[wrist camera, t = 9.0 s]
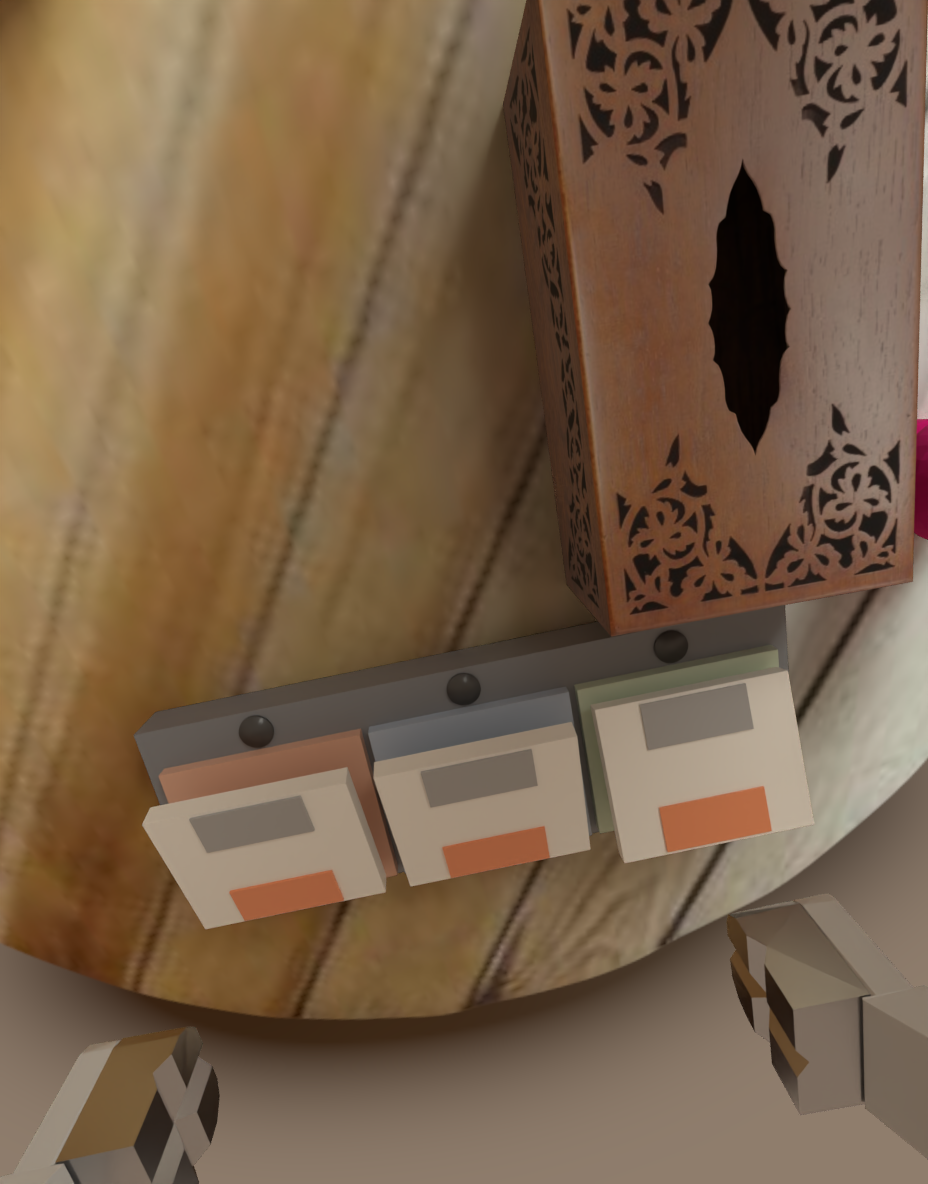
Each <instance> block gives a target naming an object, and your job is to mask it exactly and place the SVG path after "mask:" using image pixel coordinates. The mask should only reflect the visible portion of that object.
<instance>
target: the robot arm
mask: <svg viewBox="0 0 928 1184" xmlns="http://www.w3.org/2000/svg"><path fill="white" fill-rule="evenodd" d="M727 933H728V937H729V938H730V940H731V942H732V943H733V945H734V947H735V949H736V951H735V952H734V954H733V955H732V957H731V958H730V962H731V969H732V977H733V981H734V984H735V987H736V991H737V994H738V998H739V1000H740V1002H741V1005H742V1007H743V1009H744V1012H745V1014H746V1016H747V1018H748V1020H749V1022H750V1024H751V1026H752V1027H753V1029H754V1031H755V1033H757V1034H758V1035H760V1036H761V1037H763V1038H764V1039H766V1040H767V1041H769V1042H770V1047H771V1057H772V1065H773V1066H774V1068H775V1070H776V1072H777V1074H778V1076H779V1077H780V1079H781V1081H782V1083H783V1084H784V1087H785V1088H786V1090H787V1092H788V1094H789V1096H790V1098H791V1099H792V1101H793V1103H794V1105H795V1107H796V1108H797V1110H798V1112H799V1114H800V1115H804V1114H809V1113H816V1112H821V1111H827V1110H833V1109H839V1108H845V1107H851V1106H856V1105H862V1104H865V1109H867V1110H868V1111H869V1112H870V1113H872V1114H873V1115H874V1116H875V1117H876V1118H878V1119H879V1120H880V1121H881V1122H883V1123H884V1124H885V1125H886V1126H887V1127H889V1128H890V1129H891V1130H893V1131H894V1132H895V1133H896V1134H897V1135H899V1136H900V1137H901V1138H902V1139H904V1140H905V1141H906V1142H907V1143H908V1144H910V1145H911V1146H912V1147H913V1148H915V1149H916V1150H917V1151H918V1152H919V1153H921V1154H922V1155H923V1156H924V1157H926V1158H927V1159H928V987H926V986H918V987H913V986H912V985H911V984H910V983H909V982H908V981H907V980H906V978H904V976H903V975H902V974H901V973H900V972H899V970H898V969H897V968H896V967H895V966H894V965H893V964H892V962H891V961H890V960H889V959H888V958H887V957H886V956H885V954H884V953H883V952H882V951H881V950H880V949H879V948H878V946H877V945H876V944H875V943H874V942H873V941H872V940H871V938H870V937H869V936H868V935H867V934H866V933H865V932H864V930H863V929H862V928H861V927H860V926H859V925H858V924H857V923H856V921H855V920H854V919H853V918H852V917H851V916H850V914H849V913H848V912H847V911H846V910H845V909H844V908H843V907H842V905H841V904H840V903H839V902H838V901H837V900H836V899H835V898H834V897H833V896H831V895H829V894H827V893H826V894H821V895H816V896H812V897H807V898H802V899H798V900H794V901H787V902H783V903H778V904H773V905H769V906H764V907H760V908H755V909H751V910H746V911H742V912H737V913H732V914H728V918H727ZM202 1045H203V1042H202V1040H201V1038H200V1036H199V1034H198V1032H197V1030H196V1027H184V1028H178V1029H172V1030H167V1031H161V1032H156V1033H150V1034H144V1035H138V1036H133V1037H128V1038H123V1039H119V1040H114V1041H108V1042H103V1043H97V1044H92V1045H90V1046H89V1047H88V1048H87V1049H86V1050H85V1051H83V1052H82V1053H81V1054H80V1055H79V1057H78V1058H77V1060H76V1062H75V1064H74V1066H73V1067H72V1069H71V1071H70V1073H69V1074H68V1076H67V1078H66V1080H65V1082H64V1083H63V1085H62V1087H61V1089H60V1090H59V1092H58V1094H57V1096H56V1097H55V1099H54V1101H53V1103H52V1105H51V1107H50V1108H49V1110H48V1112H47V1114H46V1115H45V1117H44V1119H43V1121H42V1122H41V1124H40V1126H39V1128H38V1130H37V1132H36V1133H35V1135H34V1137H33V1138H32V1140H31V1142H30V1144H29V1146H28V1147H27V1149H26V1151H25V1153H24V1155H23V1156H22V1158H21V1160H20V1162H19V1163H18V1165H17V1167H16V1169H15V1171H14V1172H13V1174H8V1175H4V1176H1V1177H0V1184H199V1181H198V1177H197V1174H196V1171H195V1168H194V1165H195V1164H196V1162H197V1161H198V1160H199V1158H200V1157H201V1156H202V1154H203V1153H204V1152H205V1151H206V1150H207V1148H208V1147H209V1146H210V1144H211V1141H212V1138H213V1134H214V1131H215V1127H216V1124H217V1117H218V1107H219V1088H218V1081H217V1077H216V1074H215V1072H214V1069H213V1066H212V1065H210V1064H209V1063H207V1062H205V1061H204V1060H202V1059H201V1058H199V1057H198V1056H199V1053H200V1051H201V1048H202Z"/></svg>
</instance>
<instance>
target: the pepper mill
mask: <svg viewBox="0 0 928 1184" xmlns="http://www.w3.org/2000/svg"><path fill="white" fill-rule="evenodd" d="M914 533H915V534H917V535H918V536H920V537H922V538H925V539H927V540H928V419H917V435H916V473H915V511H914Z"/></svg>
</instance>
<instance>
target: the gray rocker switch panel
mask: <svg viewBox="0 0 928 1184" xmlns="http://www.w3.org/2000/svg"><path fill="white" fill-rule="evenodd" d="M772 667H779V668H782V669H785V670H788V674H789V669H788V651H787V633H786V616H785V605H782V606H776V607H771V608H765V609H760V610H754V611H749V612H743V613H738V614H732V615H727V616H721V617H716V618H710V619H705V620H699V621H694V622H688V623H683V624H677V625H672V626H666V627H661V628H655V629H650V630H644V631H639V632H633V633H628V634H622V635H617V636H612V637H611V636H610V634H609V633H608V632H607V631H606V630H605V629H604V627H603V626H602V625H601V624H600V623H599V622H594V623H589V624H584V625H579V626H574V627H569V628H564V629H560V630H555V631H550V632H545V633H540V634H535V635H530V636H525V637H520V638H516V639H511V640H506V641H501V642H496V643H491V644H486V645H481V646H476V647H472V648H467V649H462V650H457V651H452V652H447V653H442V654H437V655H432V656H428V657H423V658H418V659H413V660H408V661H403V662H398V663H393V664H388V665H384V666H379V667H374V668H369V669H364V670H359V671H354V672H349V673H344V674H340V675H335V676H330V677H325V678H320V679H315V680H310V681H305V682H300V683H296V684H291V685H286V686H281V687H276V688H271V689H266V690H261V691H256V692H252V693H247V694H242V695H237V696H232V697H227V698H222V699H217V700H212V701H208V702H203V703H198V704H193V705H188V706H183V707H178V708H173V709H169V710H164V711H159V712H155V713H154V714H153V715H152V717H151V718H150V719H149V720H148V721H147V722H146V723H145V724H144V725H143V726H142V727H141V728H140V729H139V730H138V731H137V732H136V733H135V734H134V737H135V740H136V743H137V745H138V748H139V751H140V753H141V756H142V758H143V761H144V764H145V766H146V769H147V771H148V774H149V777H150V779H151V782H152V785H153V787H154V790H155V792H156V795H157V798H158V800H159V803H160V805H165V804H170V803H175V802H179V801H184V800H189V799H194V798H199V797H204V796H209V795H214V794H218V793H223V792H228V791H233V790H238V789H243V788H248V787H253V786H258V785H262V784H267V783H272V782H277V781H282V780H287V779H292V778H297V777H302V776H306V775H311V774H316V773H321V772H326V771H331V770H336V769H341V768H345V767H348V770H349V773H350V776H351V778H352V781H353V784H354V787H355V789H356V792H357V795H358V798H359V801H360V803H361V806H362V809H363V812H364V814H365V817H366V820H367V823H368V826H369V828H370V831H371V834H372V837H373V839H374V842H375V845H376V848H377V851H378V853H379V856H380V859H381V862H382V864H383V867H384V870H385V873H386V877H391V876H396V875H397V874H398V873H401V872H405V869H404V866H403V863H402V860H401V857H400V854H399V851H398V849H397V846H396V843H395V840H394V837H393V834H392V831H391V828H390V825H389V822H388V819H387V816H386V813H385V810H384V808H383V805H382V802H381V799H380V796H379V793H378V790H377V787H376V784H375V781H374V762H377V761H382V760H387V759H392V758H397V757H402V756H407V755H412V754H417V753H421V752H426V751H431V750H436V749H441V748H446V747H451V746H456V745H460V744H465V743H470V742H475V741H480V740H485V739H490V738H495V737H500V736H504V735H509V734H514V733H519V732H524V731H529V730H534V729H539V728H544V727H548V726H553V725H558V724H563V723H568V722H572V724H573V727H574V729H575V732H576V735H577V739H578V747H579V756H580V764H581V772H582V781H583V789H584V798H585V806H586V815H587V823H588V832H589V836H591V835H592V833H596V832H599V833H600V834H601V833H606V832H611V831H615V830H614V825H613V820H612V815H611V810H610V805H609V799H608V794H607V789H606V784H605V779H604V774H603V768H602V763H601V758H600V753H599V748H598V743H597V738H596V732H595V727H594V722H593V717H592V712H591V707H590V705H592V704H597V703H601V702H606V701H611V700H616V699H621V698H626V697H631V696H636V695H640V694H645V693H650V692H655V691H660V690H665V689H670V688H675V687H680V686H684V685H689V684H694V683H699V682H704V681H709V680H714V679H719V678H724V677H728V676H733V675H738V674H743V673H748V672H753V671H758V670H763V669H767V668H772ZM405 874H406V872H405Z"/></svg>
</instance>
